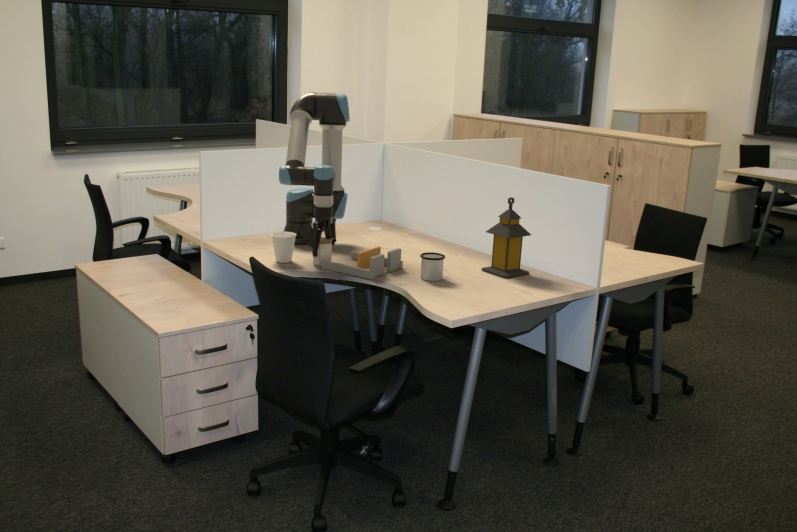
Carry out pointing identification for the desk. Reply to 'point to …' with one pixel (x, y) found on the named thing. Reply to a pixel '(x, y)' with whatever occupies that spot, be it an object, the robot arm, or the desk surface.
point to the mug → (432, 266)
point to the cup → (283, 246)
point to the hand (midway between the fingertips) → (322, 262)
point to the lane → (375, 265)
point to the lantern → (507, 245)
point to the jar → (325, 249)
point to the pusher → (367, 257)
